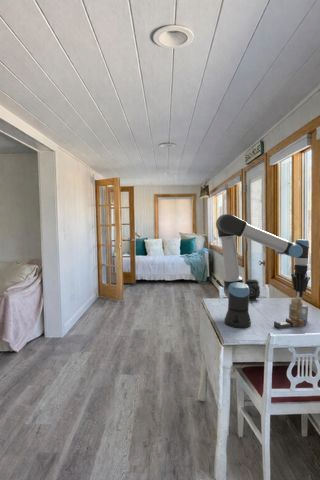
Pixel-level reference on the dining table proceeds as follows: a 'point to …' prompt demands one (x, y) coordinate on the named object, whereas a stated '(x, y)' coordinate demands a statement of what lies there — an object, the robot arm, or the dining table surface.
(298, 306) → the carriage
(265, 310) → the dining table surface
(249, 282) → the camera
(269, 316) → the dining table surface
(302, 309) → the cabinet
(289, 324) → the rail
